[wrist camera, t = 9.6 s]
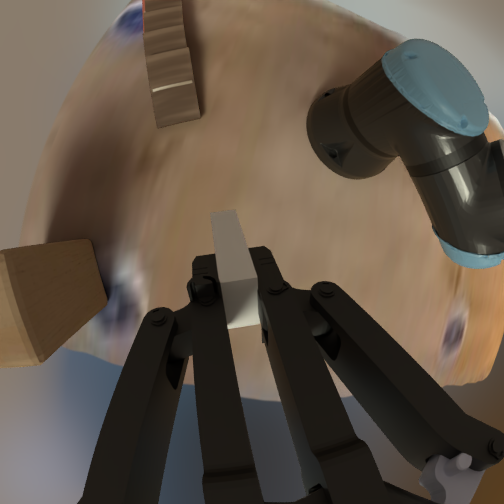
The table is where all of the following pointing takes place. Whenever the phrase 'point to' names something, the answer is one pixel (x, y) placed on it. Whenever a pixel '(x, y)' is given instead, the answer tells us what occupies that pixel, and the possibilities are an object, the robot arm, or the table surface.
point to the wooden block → (46, 298)
